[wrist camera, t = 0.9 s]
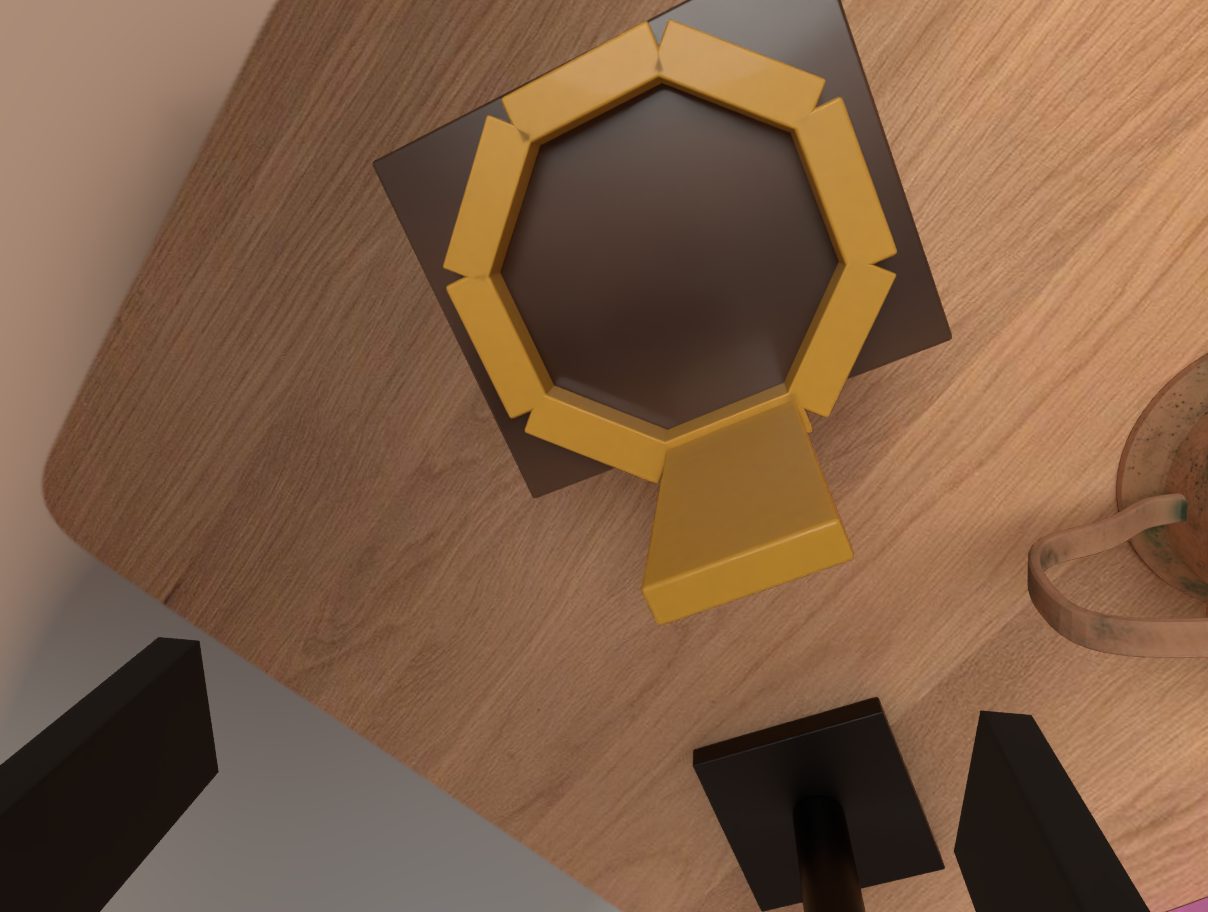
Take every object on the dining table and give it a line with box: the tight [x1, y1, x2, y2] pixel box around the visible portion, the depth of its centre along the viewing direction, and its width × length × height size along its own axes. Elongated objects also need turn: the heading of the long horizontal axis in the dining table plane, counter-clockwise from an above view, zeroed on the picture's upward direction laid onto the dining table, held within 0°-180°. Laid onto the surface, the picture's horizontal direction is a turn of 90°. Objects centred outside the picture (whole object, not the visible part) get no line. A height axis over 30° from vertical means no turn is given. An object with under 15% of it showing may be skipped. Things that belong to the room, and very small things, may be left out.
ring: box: [443, 19, 897, 625], centre depth 17 cm, size 10×10×9 cm
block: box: [373, 0, 952, 498], centre depth 27 cm, size 10×12×12 cm
